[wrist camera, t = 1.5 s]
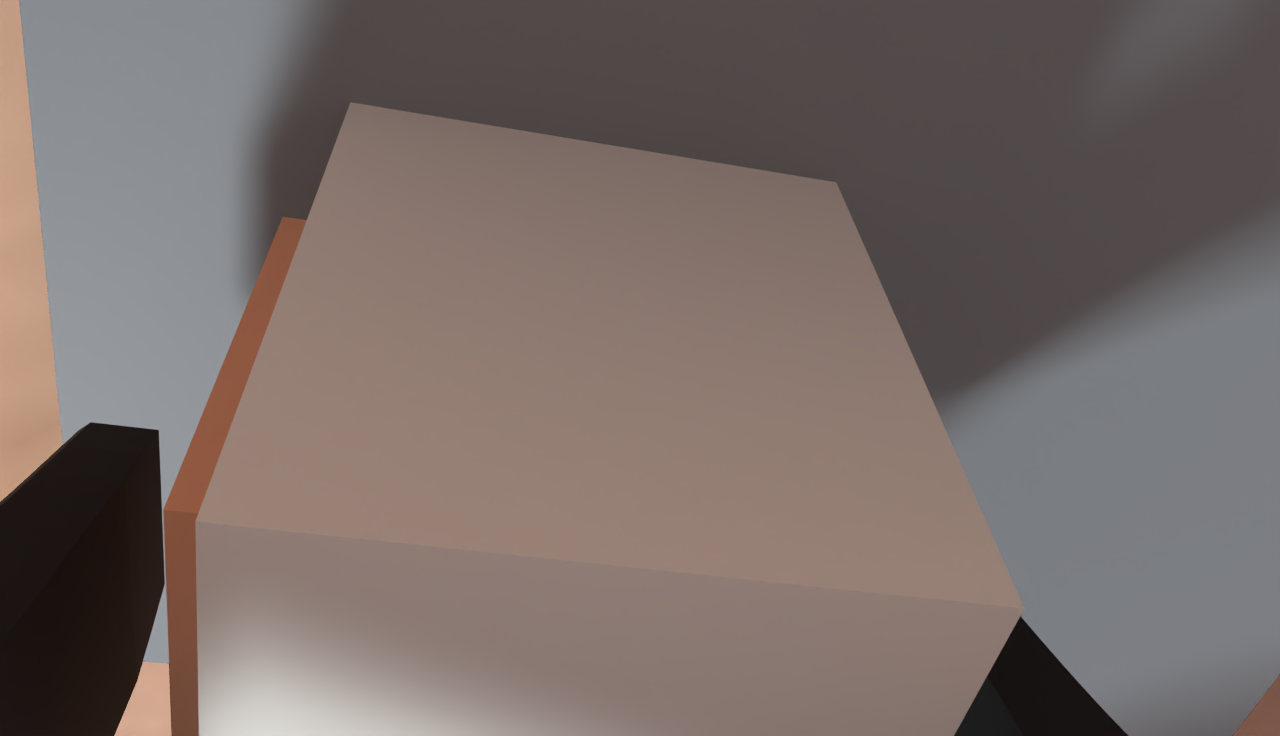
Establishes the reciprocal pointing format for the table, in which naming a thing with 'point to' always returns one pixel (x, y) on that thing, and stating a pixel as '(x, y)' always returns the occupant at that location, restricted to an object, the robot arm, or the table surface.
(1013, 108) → the grey tray
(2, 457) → the table surface
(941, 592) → the carton
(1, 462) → the table surface
